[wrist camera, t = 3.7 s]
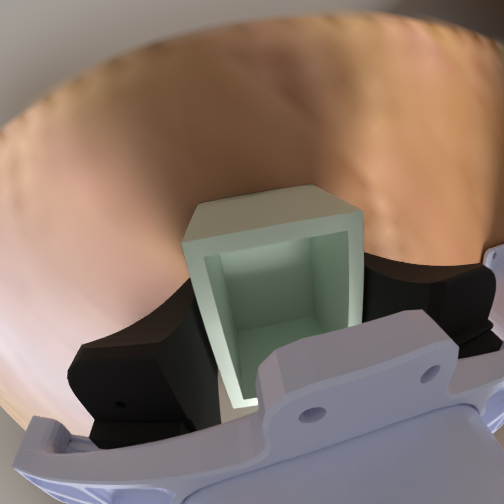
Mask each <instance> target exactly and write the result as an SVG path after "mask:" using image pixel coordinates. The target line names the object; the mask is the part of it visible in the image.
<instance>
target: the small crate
mask: <svg viewBox="0 0 504 504" xmlns="http://www.w3.org/2000/svg"><path fill="white" fill-rule="evenodd" d="M181 245H182V249H183V253H184V257H185V260H186V264H187V268H188V271H189V275H190V278H191V282H192V285H193V289H194V292H195V296H196V299H197V303H198V306H199V309H200V312H201V316H202V319H203V322H204V325H205V329H206V332H207V335H208V338H209V341H210V344H211V347H212V350H213V353H214V356H215V359H216V362H217V365H218V368H219V371H220V373H221V376H222V379H223V382H224V385H225V387H226V390H227V393H228V396H229V398H230V401H231V404H232V406H233V409H235V408H242V407H249V406H255V405H258V400H257V393H256V386H255V383H256V377H257V371H258V367H259V366H260V365H261V364H262V363H263V361H264V360H265V359H266V358H267V357H268V356H269V355H270V354H271V353H272V352H273V351H274V350H275V349H278V348H280V347H283V346H285V345H288V344H290V343H292V342H295V341H297V340H299V339H302V338H307V337H311V336H315V335H320V334H324V333H328V332H332V331H336V330H340V329H343V328H347V327H351V326H355V325H358V324H362V309H363V286H364V223H363V210H361V209H359V208H357V207H355V206H354V205H352V204H350V203H348V202H346V201H344V200H342V199H340V198H338V197H337V196H335V195H333V194H331V193H329V192H327V191H325V190H323V189H321V188H319V187H317V186H315V185H313V184H309V185H302V186H295V187H289V188H282V189H276V190H270V191H264V192H258V193H252V194H246V195H241V196H235V197H230V198H224V199H219V200H214V201H209V202H204V203H199V204H198V205H197V207H196V210H195V212H194V214H193V216H192V219H191V221H190V223H189V225H188V228H187V230H186V232H185V235H184V237H183V239H182V242H181Z"/></svg>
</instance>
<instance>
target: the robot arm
mask: <svg viewBox="0 0 504 504" xmlns="http://www.w3.org/2000/svg"><path fill="white" fill-rule="evenodd" d="M67 379H68V382H69V385H70V387H71V389H72V391H73V392H74V394H75V396H76V397H77V398H78V400H79V401H80V402H81V403H82V405H83V406H84V407H85V408H86V410H87V411H88V412H89V413H90V414H91V416H92V417H93V418H94V419H95V420H94V423H93V426H92V429H91V433H90V436H89V437H85V436H79V435H72V434H70V432H69V431H68V430H67V428H66V427H65V426H64V425H63V424H61V423H60V422H58V421H57V420H54V419H51V418H45V417H40V416H33V417H32V419H31V421H30V423H29V426H28V428H27V430H26V432H25V435H24V437H23V439H22V441H21V444H20V446H19V449H18V451H17V454H16V456H15V459H14V461H13V464H12V467H13V469H15V470H16V471H17V472H18V473H20V474H21V475H22V476H24V477H25V478H26V479H28V480H29V481H30V482H32V483H33V484H35V485H36V486H37V487H39V488H40V489H42V490H43V491H44V492H46V493H47V494H49V495H51V496H52V497H53V498H55V499H57V500H58V501H61V502H64V503H67V504H504V451H503V449H502V448H501V446H500V445H499V443H498V441H497V440H496V438H495V437H494V436H493V433H494V432H495V431H496V430H497V429H499V428H500V427H501V426H502V425H503V424H504V244H501V245H498V246H495V247H493V248H490V249H488V250H487V251H486V252H485V254H484V258H483V264H481V263H477V264H468V265H459V266H429V265H417V264H410V263H404V262H399V261H394V260H390V259H386V258H382V257H379V256H375V255H372V254H369V253H365V252H364V286H363V309H362V324H358V325H355V326H351V327H347V328H343V329H340V330H336V331H332V332H328V333H324V334H320V335H315V336H311V337H307V338H302V339H299V340H297V341H295V342H292V343H290V344H288V345H285V346H283V347H280V348H278V349H275V350H274V351H273V352H272V353H271V354H270V355H269V356H268V357H267V358H266V359H265V360H264V361H263V363H262V364H261V365H260V366H259V367H258V371H257V377H256V383H255V386H256V393H257V400H258V407H259V409H258V411H257V412H254V413H251V414H249V415H246V416H243V417H240V418H237V419H234V420H231V421H228V422H225V423H221V414H220V402H219V389H218V365H217V362H216V359H215V356H214V353H213V350H212V347H211V344H210V341H209V338H208V335H207V332H206V329H205V325H204V322H203V319H202V316H201V312H200V309H199V306H198V303H197V299H196V296H195V292H194V289H193V285H192V282H191V278H189V279H188V280H187V281H186V282H185V283H184V284H183V285H182V286H181V287H180V288H179V289H178V290H177V291H176V292H175V293H174V294H173V295H172V296H171V297H170V298H169V299H167V300H166V301H165V302H164V303H163V304H162V305H161V306H159V307H158V308H157V309H156V310H154V311H153V312H151V313H150V314H149V315H147V316H146V317H144V318H142V319H141V320H139V321H137V322H136V323H134V324H132V325H131V326H129V327H127V328H125V329H123V330H121V331H119V332H116V333H114V334H112V335H109V336H107V337H104V338H101V339H98V340H95V341H92V342H89V343H86V344H83V345H81V347H80V349H79V351H78V352H77V354H76V356H75V358H74V360H73V362H72V364H71V365H70V367H69V369H68V374H67Z"/></svg>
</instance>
